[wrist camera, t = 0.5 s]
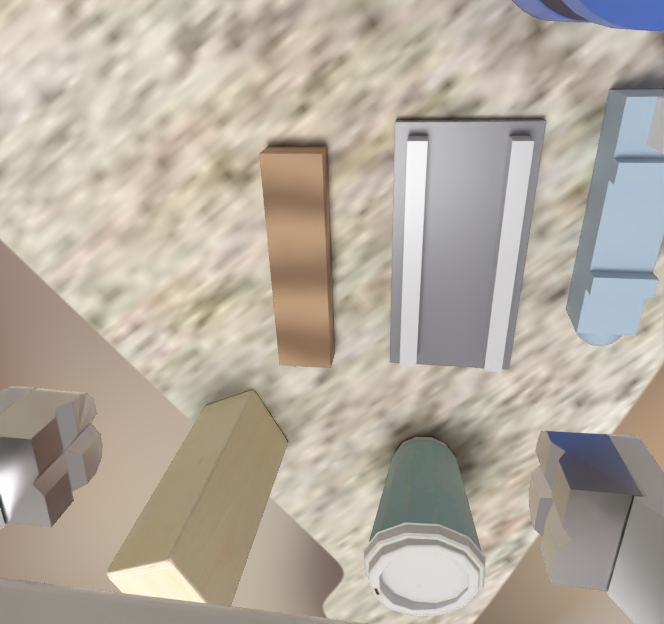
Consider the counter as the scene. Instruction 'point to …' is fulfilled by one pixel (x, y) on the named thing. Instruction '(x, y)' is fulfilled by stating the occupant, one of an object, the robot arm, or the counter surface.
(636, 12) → the water bottle
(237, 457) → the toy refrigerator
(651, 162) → the pale blue tabbed body
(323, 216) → the brown long rectangular bar
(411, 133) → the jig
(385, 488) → the disposable coffee cup
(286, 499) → the counter surface
